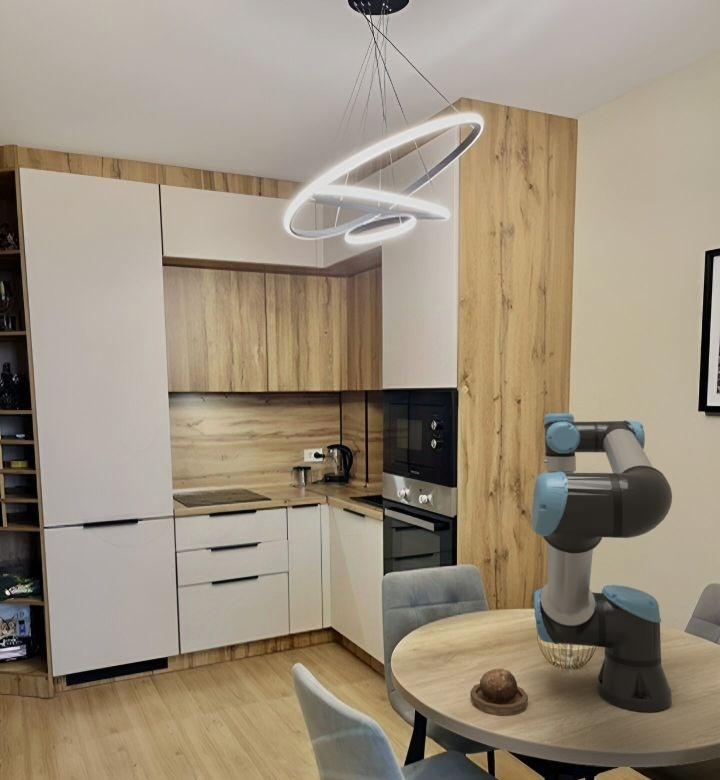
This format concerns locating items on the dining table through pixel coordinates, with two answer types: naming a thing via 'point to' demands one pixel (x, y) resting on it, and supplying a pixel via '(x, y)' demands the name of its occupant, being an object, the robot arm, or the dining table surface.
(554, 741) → the dining table surface
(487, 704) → the tray
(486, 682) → the brown ball
